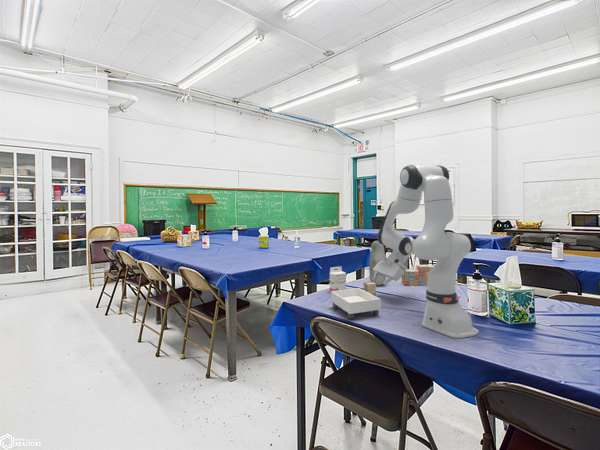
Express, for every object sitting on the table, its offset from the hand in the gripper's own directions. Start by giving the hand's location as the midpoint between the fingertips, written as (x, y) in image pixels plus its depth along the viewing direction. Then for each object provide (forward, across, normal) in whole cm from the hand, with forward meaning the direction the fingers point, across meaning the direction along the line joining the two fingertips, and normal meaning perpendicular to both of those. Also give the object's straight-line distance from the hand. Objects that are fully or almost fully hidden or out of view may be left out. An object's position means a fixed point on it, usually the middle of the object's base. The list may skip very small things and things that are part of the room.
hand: (378, 281), depth 175 cm
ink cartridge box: (+17, -22, -2) cm, 28 cm away
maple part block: (+11, 0, +3) cm, 11 cm away
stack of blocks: (-22, -17, +36) cm, 46 cm away
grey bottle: (-4, -27, +19) cm, 33 cm away
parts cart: (+21, +11, -8) cm, 25 cm away
